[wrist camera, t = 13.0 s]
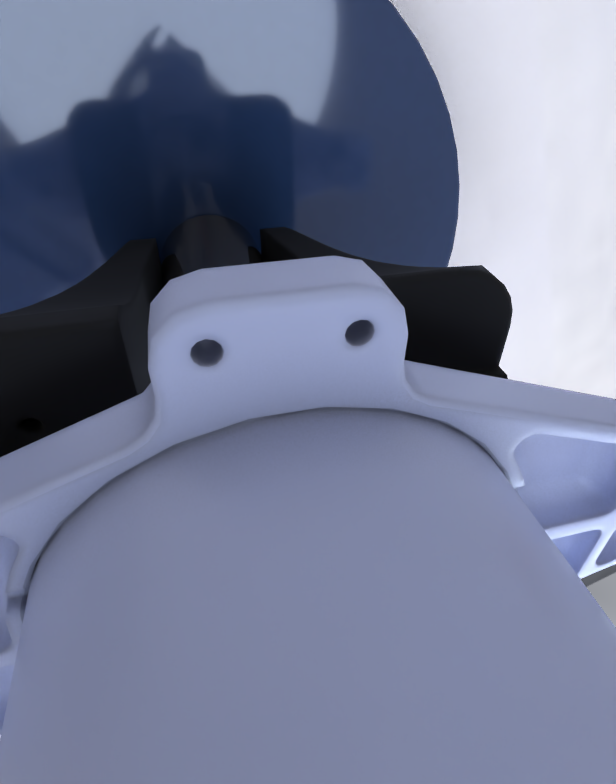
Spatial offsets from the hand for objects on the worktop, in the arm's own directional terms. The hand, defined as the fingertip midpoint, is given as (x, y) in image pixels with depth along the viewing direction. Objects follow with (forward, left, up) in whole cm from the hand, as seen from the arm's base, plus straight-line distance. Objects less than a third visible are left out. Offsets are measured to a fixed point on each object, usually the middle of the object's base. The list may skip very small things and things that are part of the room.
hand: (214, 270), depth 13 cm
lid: (0, 0, -1) cm, 1 cm away
